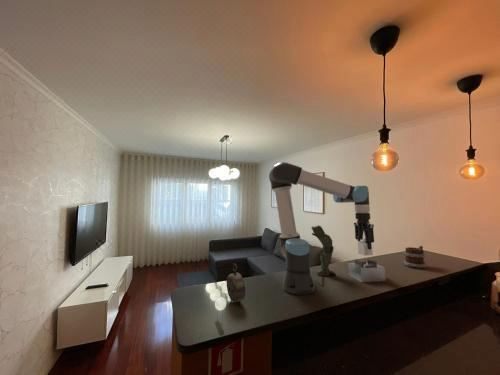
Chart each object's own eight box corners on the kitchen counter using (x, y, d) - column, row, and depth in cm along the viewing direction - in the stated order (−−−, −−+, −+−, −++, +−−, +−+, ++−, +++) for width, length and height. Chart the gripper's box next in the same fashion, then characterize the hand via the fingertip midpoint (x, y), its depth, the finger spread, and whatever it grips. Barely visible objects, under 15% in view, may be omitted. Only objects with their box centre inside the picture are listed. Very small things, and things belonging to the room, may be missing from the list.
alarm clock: (246, 307, 83) (245, 265, 85) (234, 310, 81) (233, 267, 82) (235, 296, 93) (235, 259, 94) (224, 299, 90) (224, 261, 92)
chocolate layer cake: (398, 265, 138) (399, 242, 140) (412, 266, 143) (412, 244, 145) (418, 270, 127) (419, 245, 129) (432, 271, 132) (432, 247, 134)
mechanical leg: (339, 271, 125) (324, 222, 128) (343, 275, 118) (328, 223, 121) (316, 276, 126) (303, 228, 129) (319, 280, 119) (305, 229, 122)
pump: (364, 255, 114) (363, 238, 114) (358, 253, 118) (357, 237, 119) (372, 255, 114) (371, 238, 115) (366, 253, 119) (365, 236, 120)
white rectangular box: (361, 282, 109) (360, 263, 110) (348, 275, 120) (348, 258, 120) (388, 280, 111) (387, 262, 112) (373, 273, 122) (372, 257, 123)
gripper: (380, 212, 110) (383, 257, 108) (358, 211, 128) (360, 250, 126) (367, 213, 109) (370, 258, 107) (347, 212, 127) (349, 250, 125)
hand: (365, 253), depth 116 cm, fingers closed on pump, 5 cm apart
